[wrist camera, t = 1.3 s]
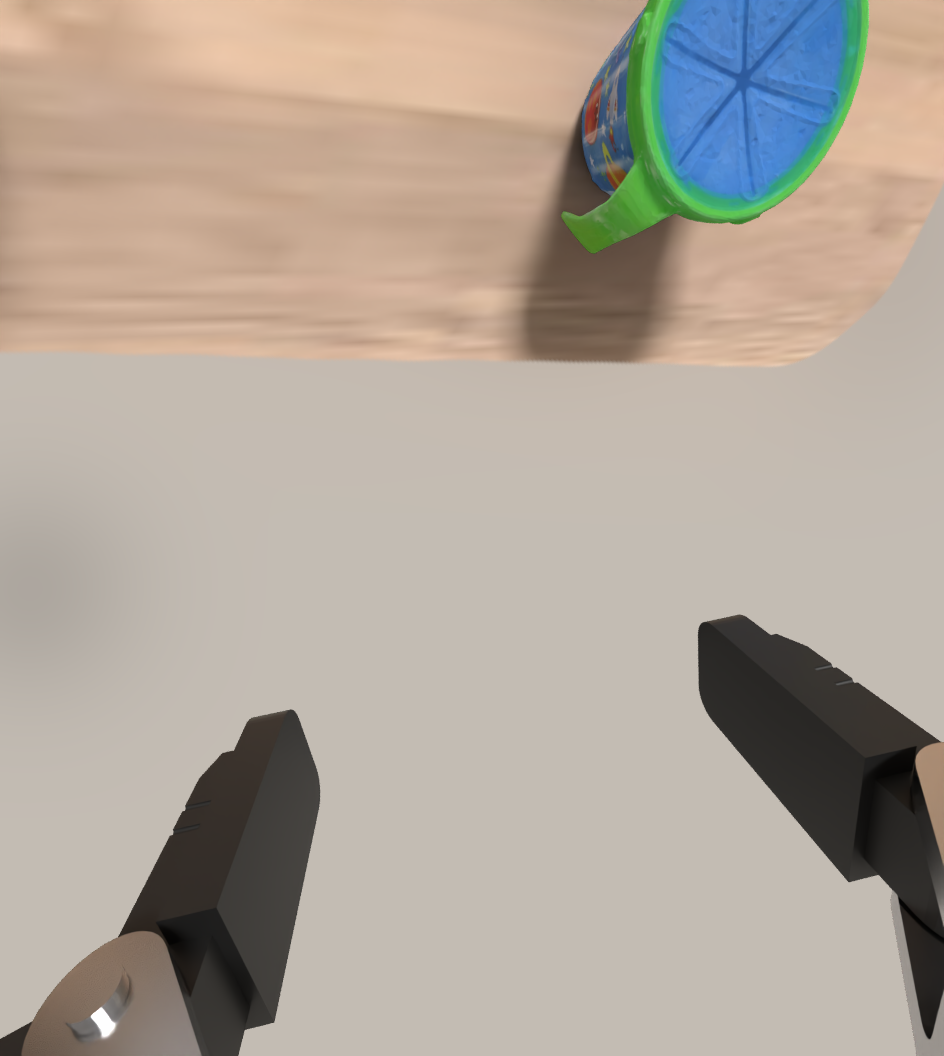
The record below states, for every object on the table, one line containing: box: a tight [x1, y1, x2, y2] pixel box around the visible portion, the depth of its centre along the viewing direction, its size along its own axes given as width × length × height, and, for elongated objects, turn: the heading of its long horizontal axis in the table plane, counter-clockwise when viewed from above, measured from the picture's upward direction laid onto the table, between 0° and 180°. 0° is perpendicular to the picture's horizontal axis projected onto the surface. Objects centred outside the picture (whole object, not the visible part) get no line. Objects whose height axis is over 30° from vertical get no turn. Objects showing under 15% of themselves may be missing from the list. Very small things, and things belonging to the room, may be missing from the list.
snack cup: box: [561, 0, 869, 254], centre depth 25 cm, size 16×10×10 cm
